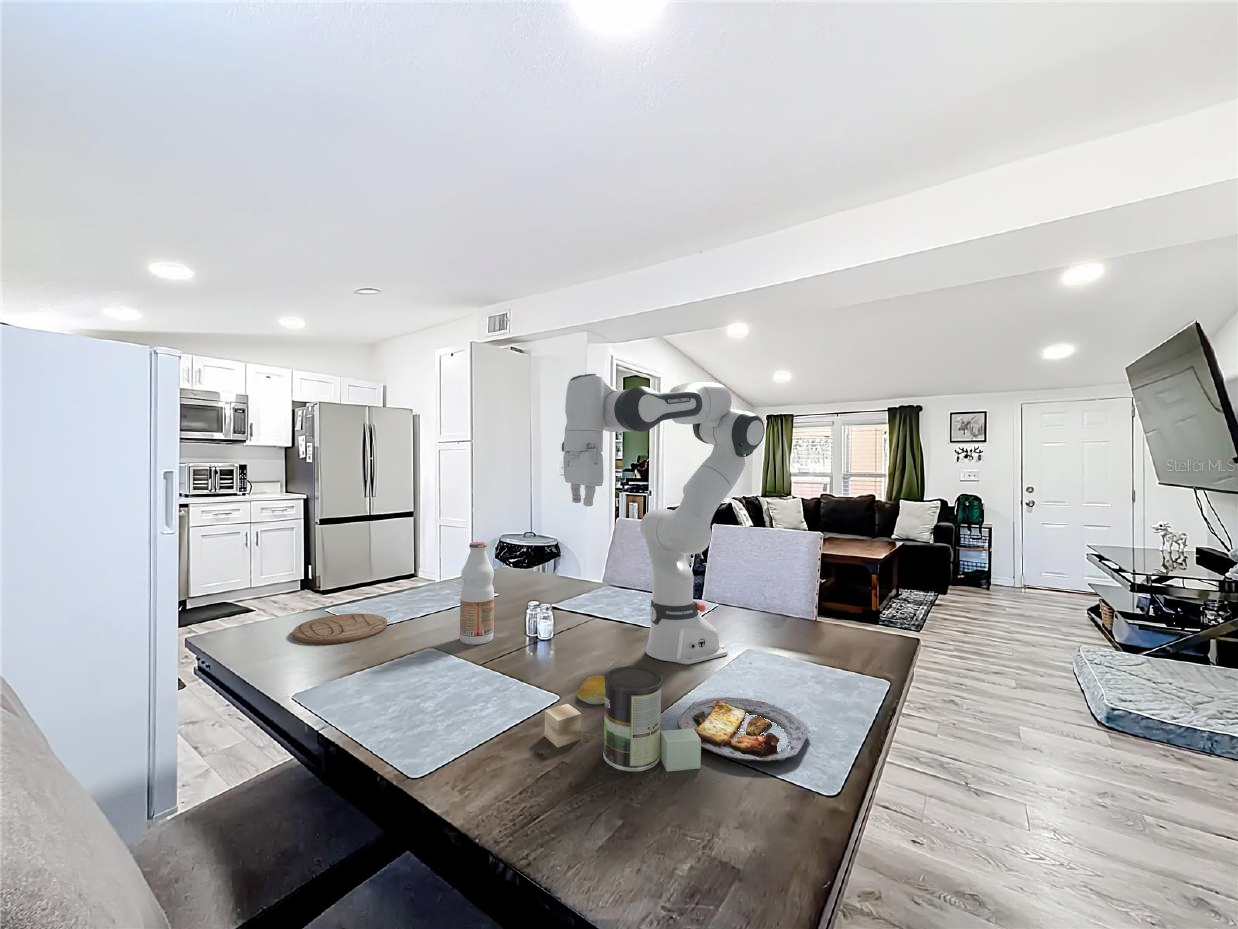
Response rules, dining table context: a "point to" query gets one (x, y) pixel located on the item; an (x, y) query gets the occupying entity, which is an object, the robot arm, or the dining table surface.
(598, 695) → the bread roll
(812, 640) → the dining table surface
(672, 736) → the pale green block
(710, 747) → the food plate
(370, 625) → the trivet
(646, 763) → the coffee can
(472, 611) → the fruit juice
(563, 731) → the maple block
